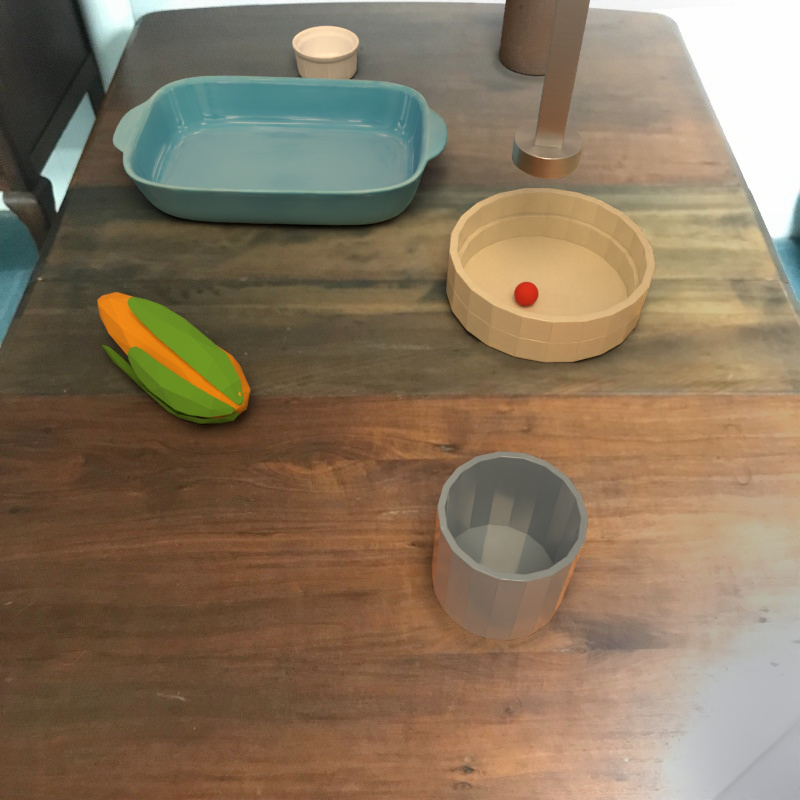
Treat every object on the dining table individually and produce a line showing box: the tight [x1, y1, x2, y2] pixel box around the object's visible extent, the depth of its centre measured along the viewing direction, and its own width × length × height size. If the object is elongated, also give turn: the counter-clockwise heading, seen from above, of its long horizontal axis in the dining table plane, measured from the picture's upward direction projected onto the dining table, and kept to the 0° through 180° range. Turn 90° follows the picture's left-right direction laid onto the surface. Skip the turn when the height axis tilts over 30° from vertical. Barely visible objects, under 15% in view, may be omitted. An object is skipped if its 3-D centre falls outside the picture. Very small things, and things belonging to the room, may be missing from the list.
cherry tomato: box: [514, 282, 539, 306], centre depth 78 cm, size 2×2×2 cm
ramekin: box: [291, 25, 360, 79], centre depth 107 cm, size 9×9×4 cm
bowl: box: [445, 187, 656, 363], centre depth 79 cm, size 20×20×6 cm
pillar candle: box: [498, 0, 557, 76], centre depth 106 cm, size 10×10×15 cm
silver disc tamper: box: [511, 0, 591, 180], centre depth 62 cm, size 6×6×24 cm
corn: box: [96, 291, 252, 425], centre depth 71 cm, size 7×8×20 cm
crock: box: [431, 450, 589, 641], centre depth 57 cm, size 10×10×10 cm
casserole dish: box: [112, 75, 448, 226], centre depth 90 cm, size 37×22×7 cm, turn 87°
